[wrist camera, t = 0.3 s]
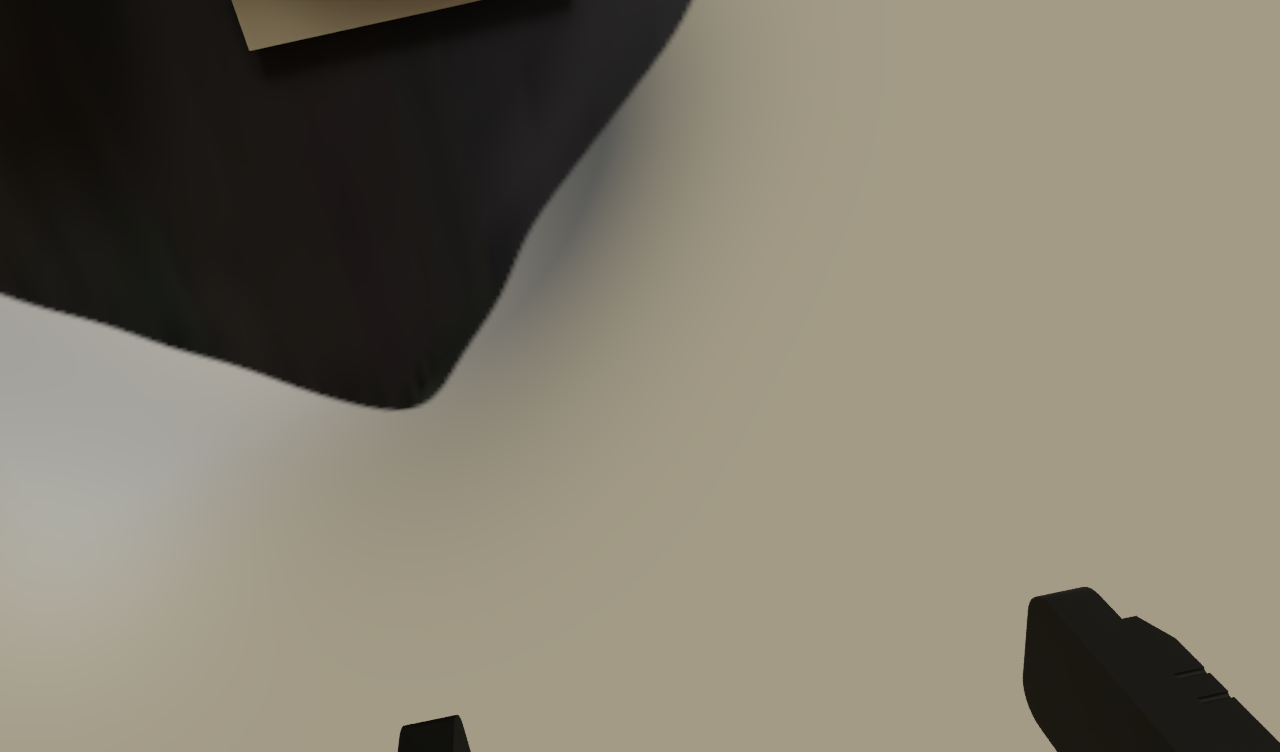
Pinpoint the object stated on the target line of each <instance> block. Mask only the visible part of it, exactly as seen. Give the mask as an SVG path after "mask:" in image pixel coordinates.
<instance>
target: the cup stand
mask: <svg viewBox="0 0 1280 752" xmlns="http://www.w3.org/2000/svg"><path fill="white" fill-rule="evenodd" d="M476 1H480V0H232V3H233V6H234V8H235V11H236V14H237V17H238V20H239V23H240V25H241V28H242V31H243V34H244V37H245V40H246V43H247V45H248V48H249V51H252V50H257V49H261V48H266V47H271V46H275V45H280V44H284V43H289V42H293V41H298V40H303V39H307V38H312V37H316V36H321V35H325V34H330V33H334V32H339V31H344V30H348V29H353V28H357V27H362V26H366V25H371V24H375V23H380V22H385V21H389V20H394V19H398V18H403V17H407V16H412V15H416V14H421V13H426V12H430V11H435V10H439V9H444V8H448V7H453V6H457V5H462V4H467V3H471V2H476Z"/></svg>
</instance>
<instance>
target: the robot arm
mask: <svg viewBox="0 0 1280 752" xmlns="http://www.w3.org/2000/svg"><path fill="white" fill-rule="evenodd" d="M1023 686H1024V691H1025V696H1026V699H1027V702H1028V705H1029V708H1030V710H1031V712H1032V715H1033V717H1034V719H1035V720H1036V722H1037V724H1038V725H1039V727H1040V728H1041V730H1042V731H1043V732H1044V734H1045V735H1046V737H1047V738H1048V739H1049V741H1050V742H1051V744H1052V745H1053V746H1054V748H1055V749H1056V751H1057V752H1280V743H1279V742H1278V741H1277V740H1276V739H1275V738H1274V737H1273V736H1272V735H1271V734H1270V733H1269V732H1268V731H1267V730H1266V729H1265V728H1264V727H1263V726H1262V725H1261V724H1260V723H1259V722H1258V721H1257V720H1256V719H1255V718H1254V717H1253V716H1252V715H1251V714H1250V713H1249V712H1248V711H1247V710H1246V709H1245V708H1244V707H1243V706H1242V705H1241V704H1240V703H1239V702H1238V701H1237V700H1236V699H1235V698H1234V697H1233V698H1231V697H1230V696H1229V694H1228V691H1227V690H1226V689H1225V688H1224V686H1222V684H1220V682H1218V680H1216V679H1215V678H1214V676H1212V674H1210V673H1208V674H1207V673H1206V672H1205V670H1204V666H1202V664H1201V663H1200V662H1199V661H1198V660H1197V659H1196V658H1194V656H1192V654H1191V653H1190V652H1189V651H1188V650H1187V649H1185V647H1184V646H1183V645H1181V644H1180V642H1179V641H1178V640H1177V639H1175V638H1174V637H1172V636H1170V635H1169V634H1167V633H1165V632H1163V631H1161V630H1160V629H1158V628H1156V627H1155V626H1152V625H1151V624H1149V623H1147V622H1146V621H1144V620H1142V619H1140V618H1139V617H1137V616H1134V617H1129V618H1124V619H1121V617H1120V616H1119V615H1118V614H1117V613H1116V612H1115V611H1114V610H1113V609H1112V608H1111V607H1110V606H1109V605H1108V604H1107V603H1106V602H1105V601H1104V600H1103V599H1102V597H1101V596H1100V595H1099V594H1097V593H1096V592H1095V591H1094V590H1092V589H1091V588H1088V587H1081V588H1076V589H1071V590H1066V591H1062V592H1057V593H1052V594H1047V595H1043V596H1037V597H1034V598H1033V599H1031V601H1030V603H1029V607H1028V617H1027V630H1026V643H1025V656H1024V669H1023ZM398 752H471V751H470V748H469V745H468V741H467V737H466V734H465V731H464V727H463V724H462V721H461V718H460V717H459V715H454V716H449V717H445V718H440V719H434V720H430V721H425V722H420V723H416V724H410V725H405V726H403V727H402V729H401V732H400V737H399V746H398Z"/></svg>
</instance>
